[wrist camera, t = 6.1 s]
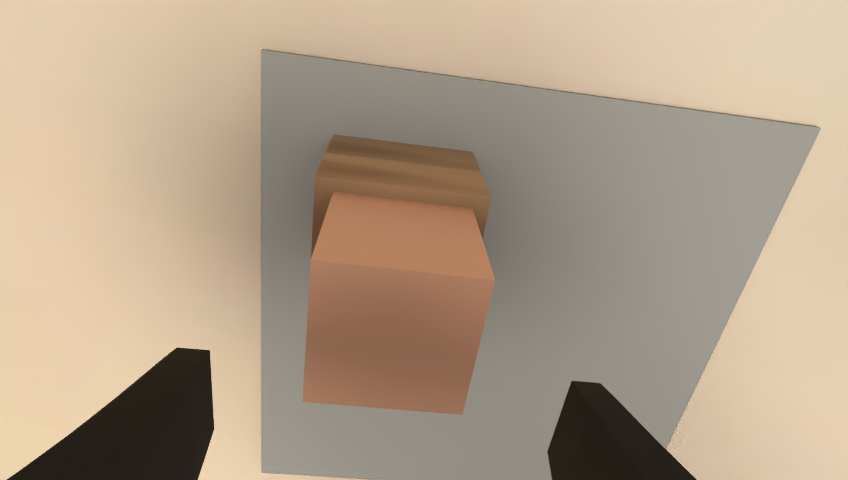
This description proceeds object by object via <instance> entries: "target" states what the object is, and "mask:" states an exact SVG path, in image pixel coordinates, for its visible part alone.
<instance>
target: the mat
mask: <svg viewBox="0 0 848 480" xmlns="http://www.w3.org/2000/svg"><path fill="white" fill-rule="evenodd" d="M820 129H821V128H819V127H815V126H808V125H801V124H794V123H787V122H779V121H772V120H765V119H758V118H751V117H744V116H736V115H729V114H722V113H715V112H708V111H701V110H693V109H686V108H679V107H672V106H665V105H658V104H650V103H643V102H636V101H629V100H622V99H615V98H607V97H600V96H593V95H586V94H579V93H572V92H564V91H557V90H550V89H543V88H536V87H529V86H521V85H514V84H507V83H500V82H493V81H485V80H478V79H471V78H464V77H457V76H450V75H442V74H435V73H428V72H421V71H414V70H407V69H399V68H392V67H385V66H378V65H371V64H364V63H356V62H349V61H342V60H335V59H328V58H321V57H313V56H306V55H299V54H292V53H285V52H278V51H270V50H262V473H275V474H292V475H308V476H324V477H340V478H356V479H372V480H552V476H551V471H550V465H549V459H548V453H547V451H548V448H549V445H550V442H551V439H552V436H553V433H554V431H555V428H556V425H557V422H558V419H559V416H560V413H561V410H562V407H563V404H564V401H565V398H566V396H567V393H568V390H569V387H570V384H571V381H582V382H594V383H601V384H602V385H603V386H604V387H605V388H606V389H607V390H608V391H609V392H610V393H611V394H612V395H613V396H614V397H615V398H616V399H617V400H618V401H619V402H620V403H621V404H622V405H623V406H624V407H625V408H626V409H627V410H628V411H629V412H630V413H631V414H632V415H633V416H634V417H635V418H636V419H637V420H638V422H639V423H640V424H641V425H642V426H643V427H644V428H645V429H646V430H647V431H648V432H649V433H650V434H651V435H652V436H653V437H654V438H655V439H656V440H657V441H658V442H659V443H660V444H661V445H662V446H663V447H664V448H665V449H666V448H667V446H668V444H669V442H670V440H671V438H672V435H673V433H674V431H675V429H676V427H677V425H678V423H679V421H680V419H681V417H682V415H683V413H684V411H685V409H686V406H687V404H688V402H689V400H690V398H691V396H692V394H693V392H694V390H695V388H696V386H697V384H698V382H699V380H700V378H701V375H702V373H703V371H704V369H705V367H706V365H707V363H708V361H709V359H710V357H711V355H712V353H713V351H714V349H715V346H716V344H717V342H718V340H719V338H720V336H721V334H722V332H723V330H724V328H725V326H726V324H727V322H728V320H729V318H730V315H731V313H732V311H733V309H734V307H735V305H736V303H737V301H738V299H739V297H740V295H741V293H742V291H743V289H744V286H745V284H746V282H747V280H748V278H749V276H750V274H751V272H752V270H753V268H754V266H755V264H756V262H757V260H758V257H759V255H760V253H761V251H762V249H763V247H764V245H765V243H766V241H767V239H768V237H769V235H770V233H771V231H772V229H773V226H774V224H775V222H776V220H777V218H778V216H779V214H780V212H781V210H782V208H783V206H784V204H785V202H786V200H787V197H788V195H789V193H790V191H791V189H792V187H793V185H794V183H795V181H796V179H797V177H798V175H799V173H800V171H801V169H802V166H803V164H804V162H805V160H806V158H807V156H808V154H809V152H810V150H811V148H812V146H813V144H814V142H815V140H816V137H817V135H818V133H819V131H820ZM333 135H342V136H350V137H358V138H366V139H374V140H382V141H390V142H398V143H406V144H414V145H422V146H430V147H438V148H446V149H454V150H462V151H470V152H473V154H474V156H475V159H476V161H477V163H478V166H479V168H480V170H481V173H482V175H483V178H484V180H485V182H486V185H487V187H488V189H489V192H490V194H491V202H490V207H489V211H488V216H487V221H486V226H485V230H484V235H483V243H484V246H485V249H486V252H487V255H488V258H489V262H490V265H491V268H492V271H493V274H494V277H495V283H494V287H493V292H492V296H491V300H490V304H489V308H488V312H487V316H486V320H485V324H484V329H483V333H482V337H481V341H480V345H479V349H478V353H477V357H476V362H475V366H474V370H473V374H472V378H471V382H470V386H469V390H468V395H467V399H466V403H465V407H464V411H463V415H456V414H443V413H431V412H419V411H407V410H395V409H382V408H370V407H358V406H346V405H334V404H321V403H309V402H302V401H303V384H304V367H305V349H306V332H307V315H308V298H309V281H310V264H311V247H312V226H313V205H314V184H315V175H316V172H317V170H318V168H319V166H320V164H321V161H322V159H323V157H324V155H325V153H326V150H327V148H328V146H329V144H330V142H331V139H332V137H333Z"/></svg>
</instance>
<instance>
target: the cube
mask: <svg viewBox="0 0 848 480" xmlns="http://www.w3.org/2000/svg"><path fill="white" fill-rule="evenodd" d="M494 283H495V277H494V274H493V271H492V268H491V265H490V262H489V258H488V255H487V252H486V249H485V246H484V243H483V239H482V236H481V233H480V230H479V227H478V224H477V221H476V217H475V214H474V211H473V209H472V208H464V207H456V206H447V205H439V204H431V203H423V202H415V201H407V200H399V199H391V198H383V197H374V196H366V195H358V194H350V193H342V192H334V191H333V194H332V197H331V200H330V203H329V206H328V209H327V212H326V215H325V218H324V221H323V224H322V227H321V230H320V233H319V236H318V239H317V242H316V245H315V248H314V251H313V254H312V257H311V264H310V281H309V298H308V315H307V332H306V349H305V367H304V384H303V401H302V402H309V403H321V404H334V405H346V406H358V407H370V408H382V409H395V410H407V411H419V412H431V413H443V414H456V415H463V411H464V407H465V403H466V399H467V395H468V390H469V386H470V382H471V378H472V374H473V370H474V366H475V362H476V357H477V353H478V349H479V345H480V341H481V337H482V333H483V329H484V324H485V320H486V316H487V312H488V308H489V304H490V300H491V296H492V292H493V287H494Z"/></svg>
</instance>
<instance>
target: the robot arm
mask: <svg viewBox="0 0 848 480" xmlns="http://www.w3.org/2000/svg"><path fill="white" fill-rule="evenodd" d="M213 430H214V419H213V401H212V383H211V365H210V350H199V349H187V348H176V349H175V350H173V351H172V352H171V353H169V354H168V355H167V356H166V357H164V358H163V359H162V360H161V361H159V362H158V363H157V364H156V365H155V366H153V367H152V368H151V369H150V370H149V371H148V372H146V373H145V374H144V375H143V376H142V377H140V378H139V379H138V380H137V381H136V382H134V383H133V384H132V385H131V386H129V387H128V388H127V389H126V390H125V391H123V392H122V393H121V394H120V395H119V396H117V397H116V398H115V399H114V400H112V401H111V402H110V403H109V404H107V405H106V406H105V407H104V408H102V409H101V410H100V411H99V412H97V413H96V414H95V415H94V416H92V417H91V418H90V419H88V420H87V421H86V422H85V423H83V424H82V425H81V426H80V427H78V428H77V429H76V430H74V431H73V432H72V433H71V434H69V435H68V436H67V437H65V438H64V439H62V440H61V441H60V442H58V443H57V444H56V445H54V446H53V447H52V448H50V449H49V450H47V451H46V452H45V453H43V454H42V455H41V456H39V457H38V458H37V459H35V460H34V461H32V462H31V463H30V464H28V465H27V466H26V467H24V468H23V469H22V470H20V471H19V472H17V473H16V474H14V475H13V476H11V477H10V478H9V479H7V480H198V477H199V474H200V471H201V468H202V465H203V462H204V459H205V456H206V453H207V449H208V446H209V443H210V440H211V437H212V434H213ZM547 453H548V459H549V465H550V471H551V476H552V480H696V479H695V478H694V477H693V476H692V475H691V474H690V473H689V472H688V471H687V470H686V469H685V468H684V467H683V466H682V465H681V464H680V463H679V462H678V461H677V460H676V459H675V458H674V457H673V456H672V455H671V454H670V453H669V452H668V451H667V450H666V449H665V448H664V447H663V446H662V445H661V444H660V443H659V442H658V441H657V440H656V439H655V438H654V437H653V436H652V435H651V434H650V433H649V432H648V431H647V430H646V429H645V428H644V427H643V426H642V425H641V424H640V423H639V422H638V420H637V419H636V418H635V417H634V416H633V415H632V414H631V413H630V412H629V411H628V410H627V409H626V408H625V407H624V406H623V405H622V404H621V403H620V402H619V401H618V400H617V399H616V398H615V397H614V396H613V395H612V394H611V393H610V392H609V391H608V390H607V389H606V388H605V387H604V386H603V385H602V384H601V383H594V382H582V381H571V384H570V387H569V390H568V393H567V396H566V398H565V401H564V404H563V407H562V410H561V413H560V416H559V419H558V422H557V425H556V428H555V431H554V433H553V436H552V439H551V442H550V445H549V448H548V451H547Z"/></svg>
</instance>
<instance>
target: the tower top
mask: <svg viewBox="0 0 848 480" xmlns="http://www.w3.org/2000/svg"><path fill="white" fill-rule="evenodd" d="M333 191H334V192H342V193H350V194H358V195H366V196H374V197H383V198H391V199H399V200H407V201H415V202H423V203H431V204H439V205H447V206H456V207H464V208H472V209H473V211H474V214H475V217H476V221H477V224H478V227H479V230H480V233H481V236H482V239H483V235H484V230H485V226H486V221H487V216H488V211H489V207H490V202H491V194H490V192H489V189H488V187H487V185H486V182H485V180H484V178H483V175H482V173H481V172H480V171H472V170H464V169H456V168H447V167H439V166H431V165H423V164H414V163H406V162H398V161H390V160H382V159H373V158H365V157H357V156H349V155H340V154H332V153H325V155H324V157H323V159H322V161H321V164H320V166H319V168H318V170H317V172H316V175H315V184H314V205H313V226H312V247H311V257H312V254H313V251H314V248H315V245H316V242H317V239H318V236H319V233H320V230H321V227H322V224H323V221H324V218H325V215H326V212H327V209H328V206H329V203H330V200H331V197H332V194H333Z"/></svg>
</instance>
